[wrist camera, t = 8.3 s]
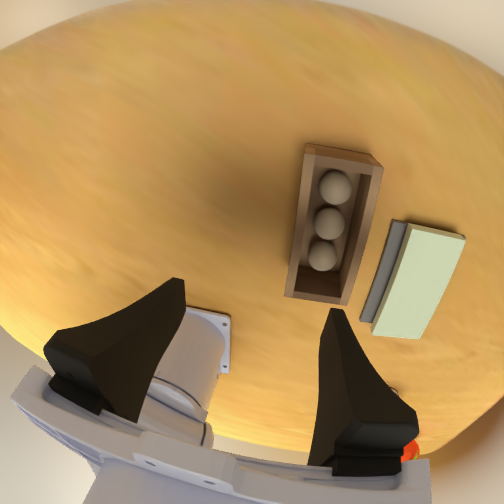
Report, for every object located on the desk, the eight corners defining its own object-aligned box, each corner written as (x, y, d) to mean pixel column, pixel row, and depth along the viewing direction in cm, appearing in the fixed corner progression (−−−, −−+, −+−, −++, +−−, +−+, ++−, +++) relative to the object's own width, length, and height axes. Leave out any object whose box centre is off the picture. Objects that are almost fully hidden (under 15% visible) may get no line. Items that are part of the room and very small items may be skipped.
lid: (415, 328, 24) (418, 339, 23) (369, 323, 25) (371, 334, 23) (458, 231, 19) (465, 240, 17) (406, 220, 19) (412, 228, 18)
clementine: (399, 425, 34) (402, 464, 28) (429, 427, 34) (433, 463, 28) (371, 444, 38) (371, 479, 32) (401, 446, 38) (402, 479, 32)
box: (343, 274, 23) (346, 305, 20) (289, 266, 24) (284, 296, 20) (370, 154, 18) (383, 167, 15) (306, 143, 19) (304, 153, 15)
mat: (423, 325, 24) (423, 328, 24) (359, 318, 25) (359, 321, 25) (463, 235, 19) (465, 237, 19) (392, 219, 20) (393, 221, 20)
